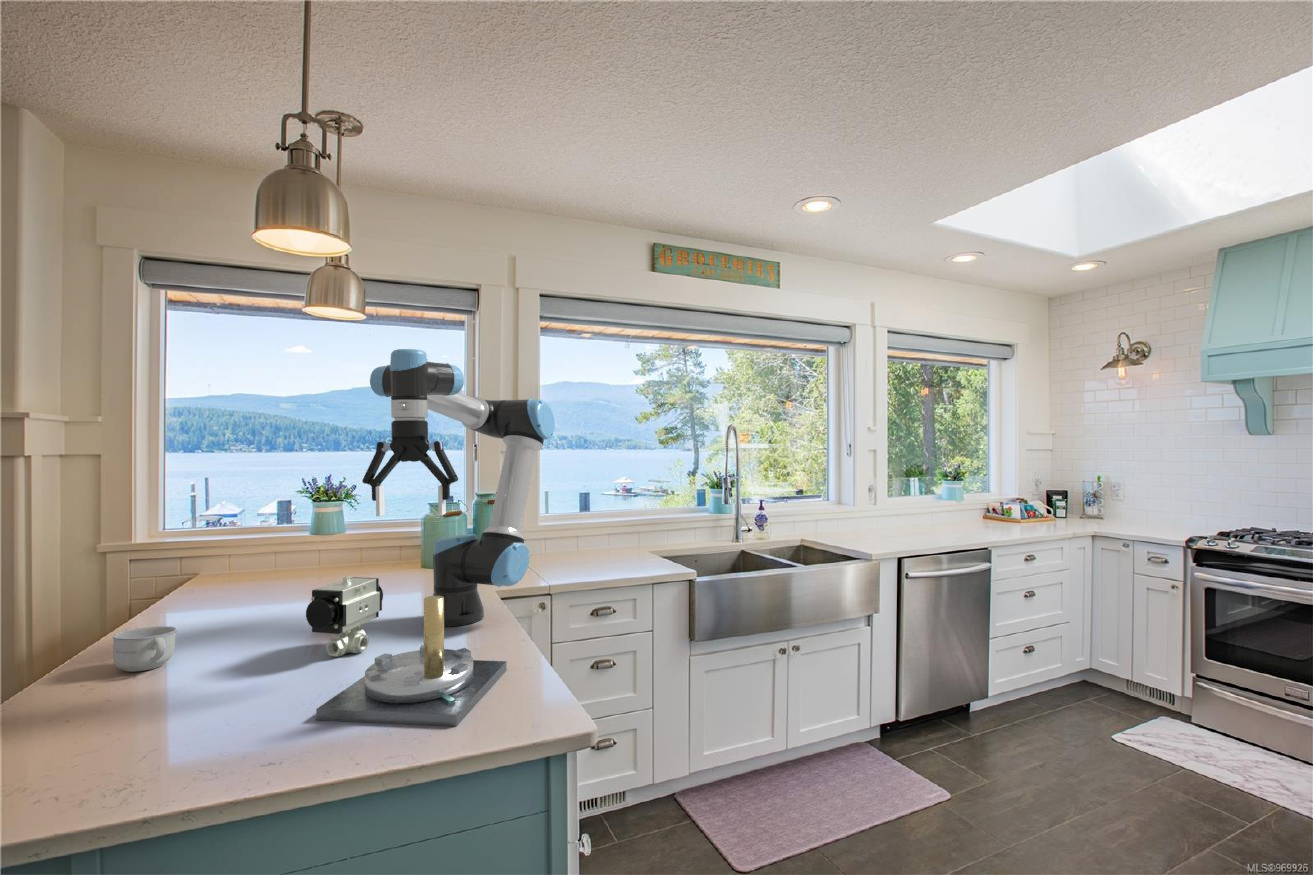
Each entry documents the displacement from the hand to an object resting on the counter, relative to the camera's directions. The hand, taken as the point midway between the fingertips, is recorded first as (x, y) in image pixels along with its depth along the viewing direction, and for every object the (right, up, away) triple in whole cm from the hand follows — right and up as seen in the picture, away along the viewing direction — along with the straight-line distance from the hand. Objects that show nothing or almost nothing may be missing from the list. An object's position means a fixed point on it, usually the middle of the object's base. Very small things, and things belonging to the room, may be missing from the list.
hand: (411, 515), depth 137 cm
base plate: (+8, -33, -15) cm, 37 cm away
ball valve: (-18, -34, +8) cm, 39 cm away
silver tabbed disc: (+8, -31, -15) cm, 35 cm away
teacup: (-57, -34, -2) cm, 66 cm away
